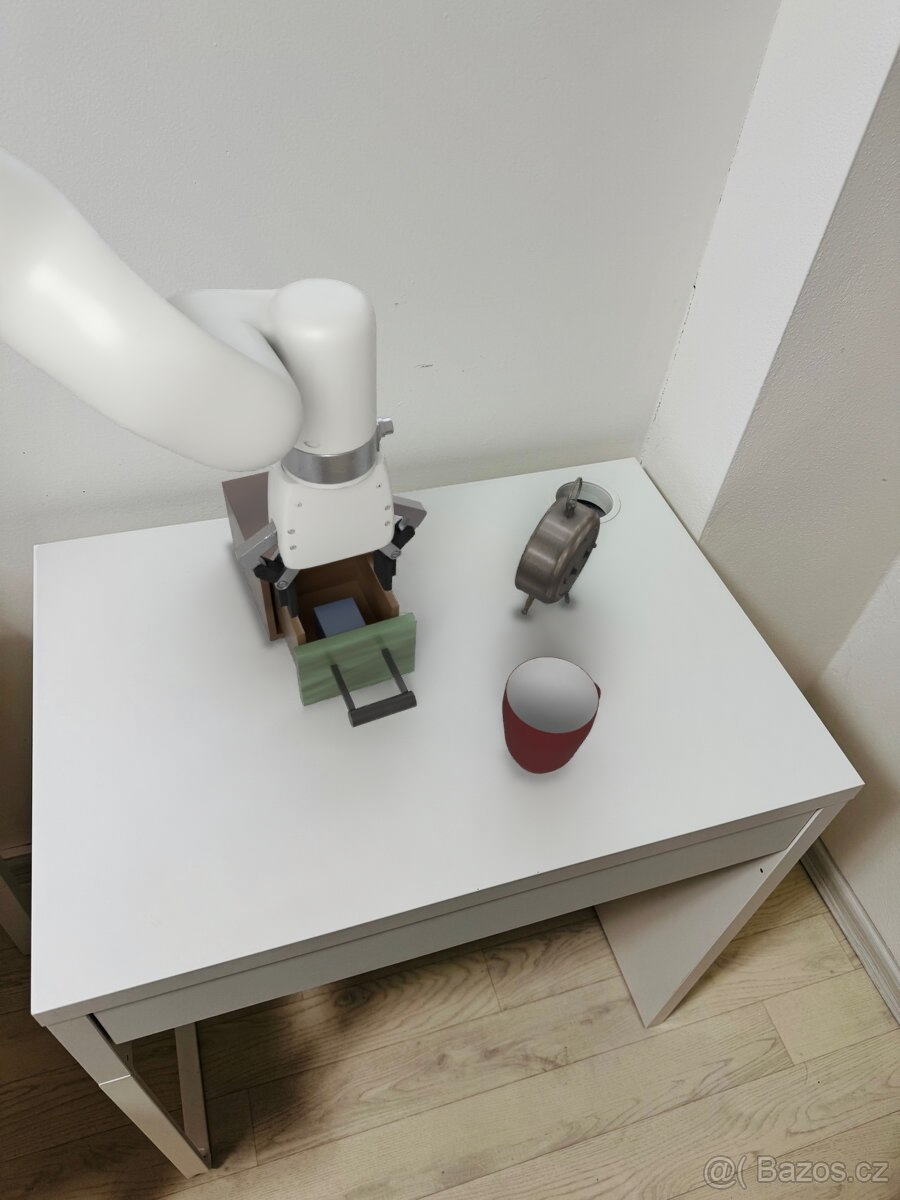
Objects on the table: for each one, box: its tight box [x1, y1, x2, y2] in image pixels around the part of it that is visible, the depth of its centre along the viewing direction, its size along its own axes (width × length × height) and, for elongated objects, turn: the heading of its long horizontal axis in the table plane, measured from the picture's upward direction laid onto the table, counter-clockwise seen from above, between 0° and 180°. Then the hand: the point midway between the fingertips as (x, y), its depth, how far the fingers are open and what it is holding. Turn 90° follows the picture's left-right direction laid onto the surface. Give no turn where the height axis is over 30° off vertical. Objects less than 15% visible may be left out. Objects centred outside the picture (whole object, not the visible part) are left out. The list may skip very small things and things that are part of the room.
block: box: [313, 597, 366, 640], centre depth 82 cm, size 4×4×4 cm
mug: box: [501, 656, 602, 775], centre depth 75 cm, size 10×8×10 cm
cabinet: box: [221, 470, 373, 642], centre depth 88 cm, size 15×13×10 cm
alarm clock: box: [514, 476, 601, 616], centre depth 86 cm, size 11×5×16 cm, turn 147°
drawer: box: [269, 554, 418, 729], centre depth 80 cm, size 20×11×8 cm, turn 24°
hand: (337, 593), depth 78 cm, fingers open, 8 cm apart
